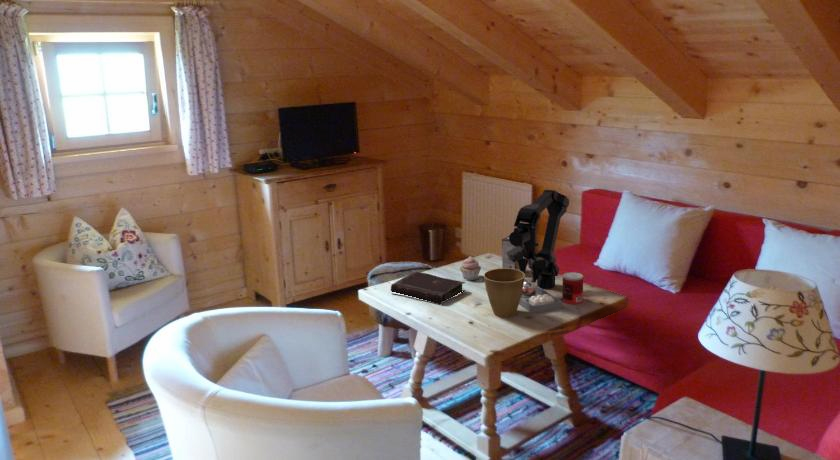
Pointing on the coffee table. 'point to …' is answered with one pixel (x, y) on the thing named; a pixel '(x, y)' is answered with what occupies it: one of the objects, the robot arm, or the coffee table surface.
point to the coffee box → (505, 260)
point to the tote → (541, 307)
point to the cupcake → (470, 269)
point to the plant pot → (504, 290)
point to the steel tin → (528, 289)
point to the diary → (427, 287)
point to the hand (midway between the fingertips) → (528, 278)
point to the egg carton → (540, 299)
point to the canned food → (572, 288)
